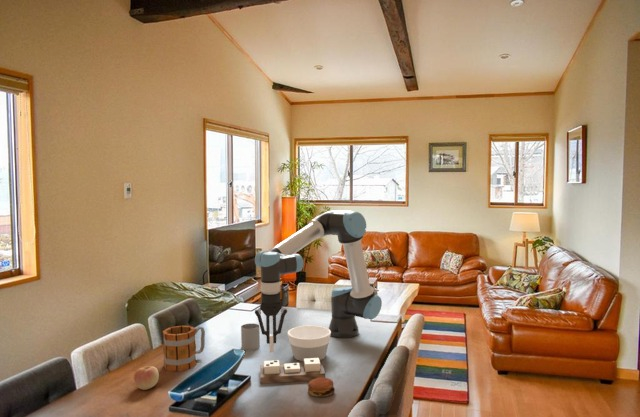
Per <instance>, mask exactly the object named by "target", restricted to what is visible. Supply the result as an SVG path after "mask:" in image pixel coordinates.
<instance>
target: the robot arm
mask: <svg viewBox="0 0 640 417" xmlns="http://www.w3.org/2000/svg"><path fill="white" fill-rule="evenodd" d="M366 231H367V221H366V219H365V216H364V215H363V214H362V213H360V212H359V211H354V210H336V209H332V210H328V211H325V212H323V213H320V214H318V215H317V216H315V217H313V218H312V219H310V220H309V222H308V224H306V225H305V226H304V227H301V228H300V229H299V230H298V231H296V232H294V233H293V234H292V235H290V236H288V237H287V238H285V239H284V240H282V241H280V242H279V243H277V244H276V245H275V246H273V247H272V248H270V249H269V250H260V251H257V253H256V255H255V257H254V264H255V265H256V267H257V268H259V269H260V291H261V293H260V301H261V302H260V306H259V308H257V309H255V310H254V314H255V315H256V317H257V320H258V325H259V329H260V332H261V335H264V336H266V344H269V353H271V354H273V353H274V344H277V335H280V334H281V333H282V329H283V324H284V321H285V315H286V314H287V313H288V309H287V308H286V307H284V306H283V305H282V302H281V276H285V275H290V274H295V273H298V272H301V271H302V270H303V268H304V259H303V257H302V255H300V254H299V253H297V252H299V251H301V250H302V249H303V248H305V247H306V246H308V245H309V244H311V243H312V242H313V241H315V240H317V239H322V238H323V237H325V236H337V239H338V240H337V241H338V242H339V244H340V245H342V247H343V251H344V257H345V262H346V265H347V270H348V275H349V279H350V284H351V285H350V286H341V287H340V286H339V287H336V288H333V289H332V290H331V297H330V299H331V301H330V304H331V306H330V307H331V320H330V322H329V326H328V329H329V330H330V331H331V335H330V337H331V336H332V337H335V338H340V339H341V338H343V339H345V338H348V339H349V338H353V337H357V336H358V335H359V326H358V323H357V320H356V317H359V318H362V319H365V320H374V319H375V318H377V316H379V314H380V312H381V310H382V304H383V302H382V301H383V300H382V298H381V296H379V295H377V294H376V292H375V289H374V287H373V286H371V284H370V283H371V282H370V279H369V273H368V268H367V265H366V260H365V254H364V251H363V250H364V249H363V245H362V240H363V238H364V235H365V233H366ZM279 312H280V314H281V315H280V318H279V323H278V325H277V316H278V314H279ZM262 313H263V314H264V316H266V317H265V324H266V325H265V326H266V328H265V327H264V323H263V322H264V321H263V319H262V316H261V314H262ZM270 317H272V333H270Z"/></svg>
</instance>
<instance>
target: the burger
mask: <svg viewBox="0 0 640 417" xmlns="http://www.w3.org/2000/svg"><path fill="white" fill-rule="evenodd" d="M307 392H308V394H309V396H312V397H322V398H323V397H328V396H331V395H332V394H334V393H335V386H334V382H333V380H332V379H331V378H328V377H325V378H316V379H313V380H309V381H308V384H307Z"/></svg>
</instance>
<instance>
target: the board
mask: <svg viewBox="0 0 640 417" xmlns="http://www.w3.org/2000/svg"><path fill="white" fill-rule="evenodd" d="M298 363H299V365H300V372H294V373H284V364H285V363H281V364H280V363H279V364H280V373H278V374H264V364H262V365H259V366H260V368H259V369H260V371H259V372H260V375H259V376H260V379H259V381H260V384H261V385H262V384H275V383H277V384H278V383H291V382H293V383H294V382H306V381H308V382H309V381H311V380H313V379H316V378H326V372H325V367H324V366H323V363H322V361H320V369H321V371H310V372H305V369H304V362H298Z"/></svg>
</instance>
